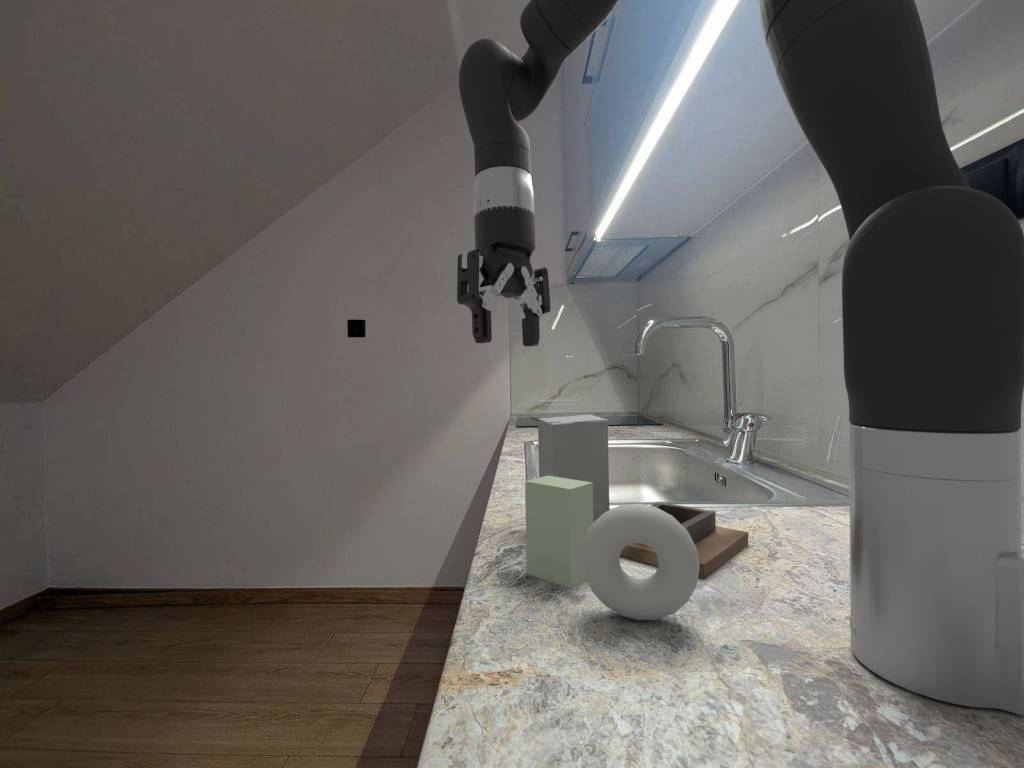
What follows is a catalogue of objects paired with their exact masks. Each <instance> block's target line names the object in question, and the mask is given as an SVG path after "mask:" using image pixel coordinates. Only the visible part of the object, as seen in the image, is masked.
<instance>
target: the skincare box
mask: <svg viewBox="0 0 1024 768" xmlns="http://www.w3.org/2000/svg"><path fill="white" fill-rule="evenodd" d="M537 435H538V437H537V439H538V440H537V443H538V445H537V446H538V475H539V477H538V478H540V477H544V476H554V477H560V478H567V479H573V480H579V481H585V482H592V483H593V523H594V522H595V521H596V520H597V519H598V518H599V517H600V516H601V515H602V514H603V513H605V512H607V511H609V510H611V509H610V467H609V466H610V465H609V463H610V461H609V420H608V419H607V418H603V417H600V416H597V415H594V414H581V415H570V416H557V417H556V416H555V417H540V418H539V417H538V418H537Z"/></svg>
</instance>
